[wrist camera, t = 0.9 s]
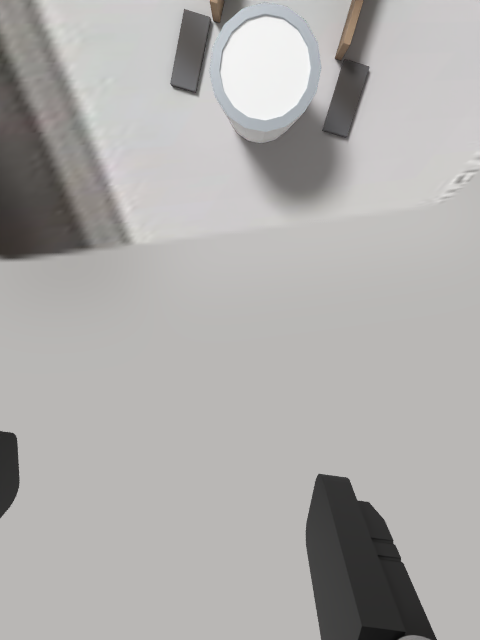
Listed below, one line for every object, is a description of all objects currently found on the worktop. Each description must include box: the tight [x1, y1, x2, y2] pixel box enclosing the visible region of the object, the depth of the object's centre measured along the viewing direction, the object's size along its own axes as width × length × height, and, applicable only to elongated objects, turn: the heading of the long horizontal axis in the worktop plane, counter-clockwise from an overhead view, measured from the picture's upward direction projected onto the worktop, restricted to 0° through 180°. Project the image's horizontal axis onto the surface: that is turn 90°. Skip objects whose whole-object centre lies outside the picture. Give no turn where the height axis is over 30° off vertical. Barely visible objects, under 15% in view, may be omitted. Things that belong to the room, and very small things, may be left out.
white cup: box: [210, 2, 321, 143], centre depth 25 cm, size 7×7×7 cm
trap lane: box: [170, 0, 369, 137], centre depth 25 cm, size 12×15×2 cm
